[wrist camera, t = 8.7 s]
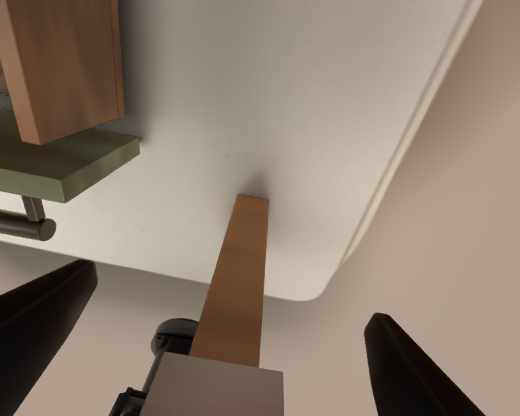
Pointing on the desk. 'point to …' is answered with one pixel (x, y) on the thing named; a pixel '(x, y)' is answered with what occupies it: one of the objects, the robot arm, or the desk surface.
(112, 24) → the drawer
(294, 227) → the desk surface
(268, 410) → the brushed metal block
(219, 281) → the stand
